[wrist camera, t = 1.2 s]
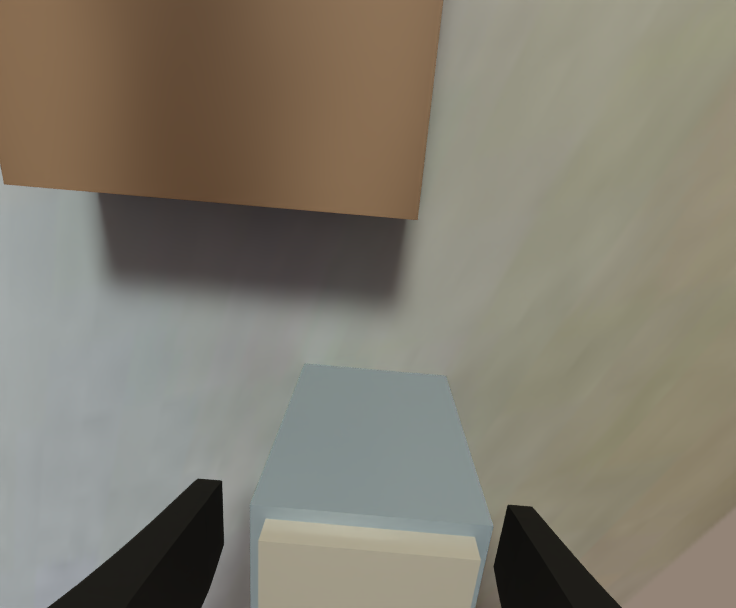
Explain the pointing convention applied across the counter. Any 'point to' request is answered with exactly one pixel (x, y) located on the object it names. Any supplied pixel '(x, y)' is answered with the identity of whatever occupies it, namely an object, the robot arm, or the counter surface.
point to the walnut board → (221, 100)
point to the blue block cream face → (368, 497)
